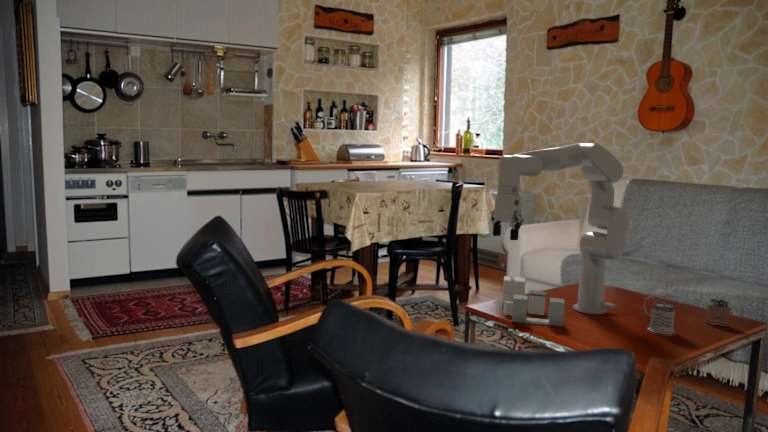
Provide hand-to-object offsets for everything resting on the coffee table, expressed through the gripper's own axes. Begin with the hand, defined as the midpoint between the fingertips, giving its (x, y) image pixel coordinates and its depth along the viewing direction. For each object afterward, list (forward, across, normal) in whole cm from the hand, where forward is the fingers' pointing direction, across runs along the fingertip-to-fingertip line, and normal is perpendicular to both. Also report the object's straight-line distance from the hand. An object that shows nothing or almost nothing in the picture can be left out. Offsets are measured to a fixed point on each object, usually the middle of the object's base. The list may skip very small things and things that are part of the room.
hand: (505, 237), depth 231 cm
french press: (+31, -30, -49) cm, 65 cm away
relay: (+31, +7, -10) cm, 34 cm away
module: (+31, +5, -22) cm, 39 cm away
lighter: (+31, -33, -77) cm, 90 cm away
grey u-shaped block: (+31, -6, -13) cm, 34 cm away
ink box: (+31, +15, -18) cm, 39 cm away
